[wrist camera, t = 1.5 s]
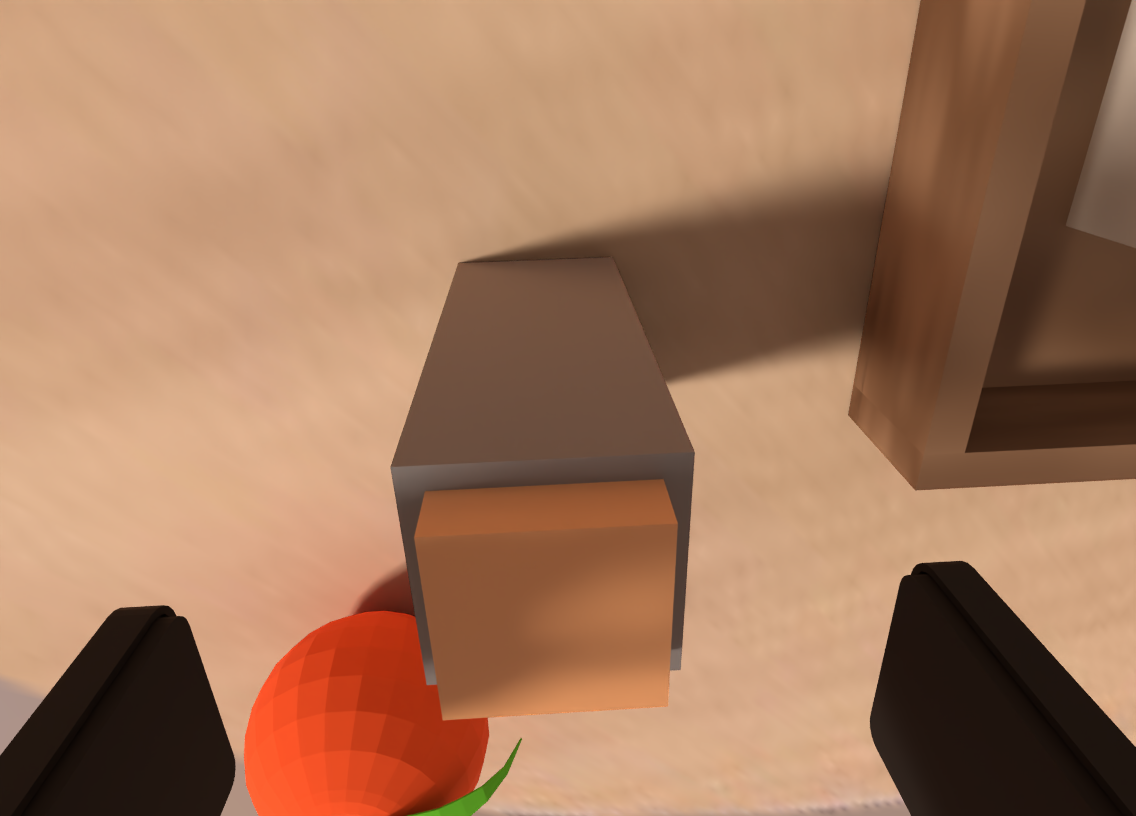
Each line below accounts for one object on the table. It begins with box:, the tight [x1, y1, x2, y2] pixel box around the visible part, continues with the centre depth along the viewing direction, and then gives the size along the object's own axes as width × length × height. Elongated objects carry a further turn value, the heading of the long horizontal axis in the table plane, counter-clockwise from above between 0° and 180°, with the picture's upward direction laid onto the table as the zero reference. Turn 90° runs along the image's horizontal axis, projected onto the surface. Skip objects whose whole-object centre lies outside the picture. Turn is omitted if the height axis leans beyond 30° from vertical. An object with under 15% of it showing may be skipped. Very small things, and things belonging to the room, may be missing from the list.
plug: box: [391, 257, 695, 720], centre depth 14 cm, size 4×4×11 cm
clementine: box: [244, 611, 522, 816], centre depth 21 cm, size 8×7×7 cm
